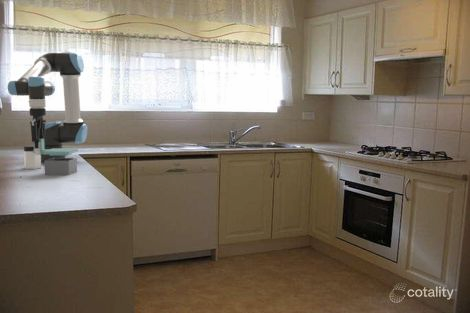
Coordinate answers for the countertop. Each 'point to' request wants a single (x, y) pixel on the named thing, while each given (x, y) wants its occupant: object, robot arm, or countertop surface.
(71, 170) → the tub
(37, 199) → the countertop surface
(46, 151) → the teal t-shaped block
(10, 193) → the countertop surface
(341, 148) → the countertop surface
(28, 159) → the jar
